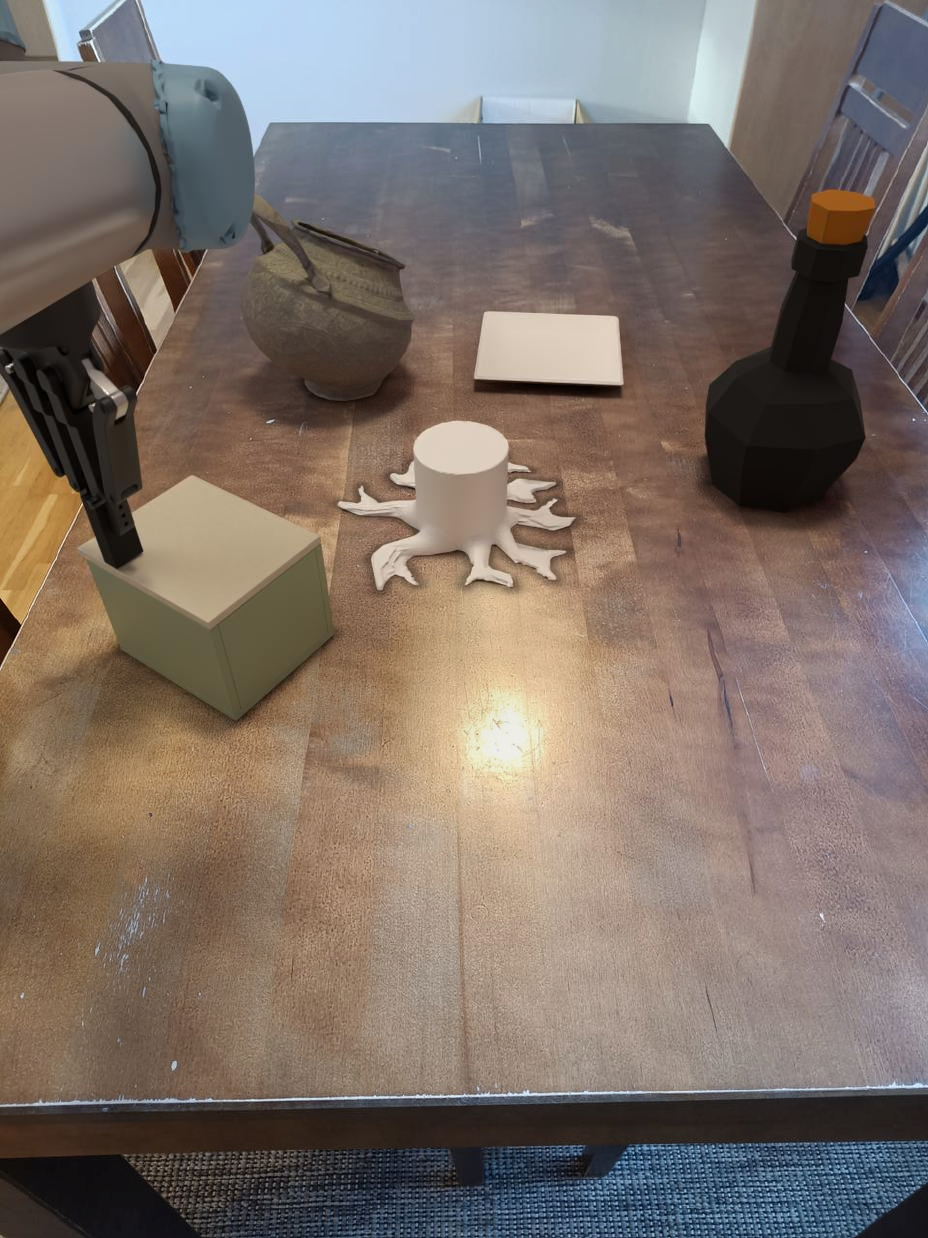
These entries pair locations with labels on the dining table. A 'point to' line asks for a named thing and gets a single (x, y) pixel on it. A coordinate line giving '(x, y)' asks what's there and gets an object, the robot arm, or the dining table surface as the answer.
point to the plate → (549, 349)
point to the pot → (325, 307)
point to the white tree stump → (462, 505)
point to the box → (226, 635)
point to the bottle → (795, 376)
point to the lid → (207, 550)
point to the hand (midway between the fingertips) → (124, 556)
